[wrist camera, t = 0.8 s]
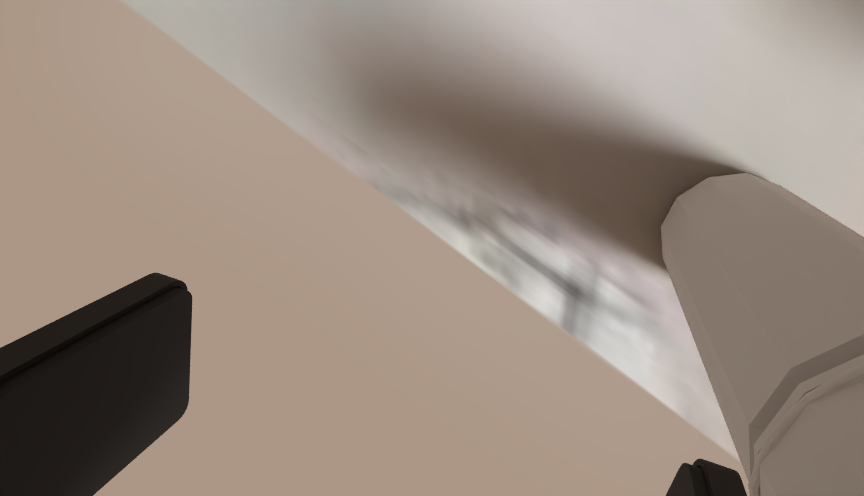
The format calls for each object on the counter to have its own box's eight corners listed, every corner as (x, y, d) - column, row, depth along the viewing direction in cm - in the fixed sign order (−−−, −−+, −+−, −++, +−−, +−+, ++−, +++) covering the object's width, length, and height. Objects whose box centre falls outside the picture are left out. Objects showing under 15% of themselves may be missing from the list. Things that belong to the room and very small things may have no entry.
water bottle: (625, 245, 32) (711, 672, 10) (726, 136, 29) (1218, 387, 6) (751, 339, 32) (1151, 1014, 9) (866, 240, 29) (1909, 892, 6)
